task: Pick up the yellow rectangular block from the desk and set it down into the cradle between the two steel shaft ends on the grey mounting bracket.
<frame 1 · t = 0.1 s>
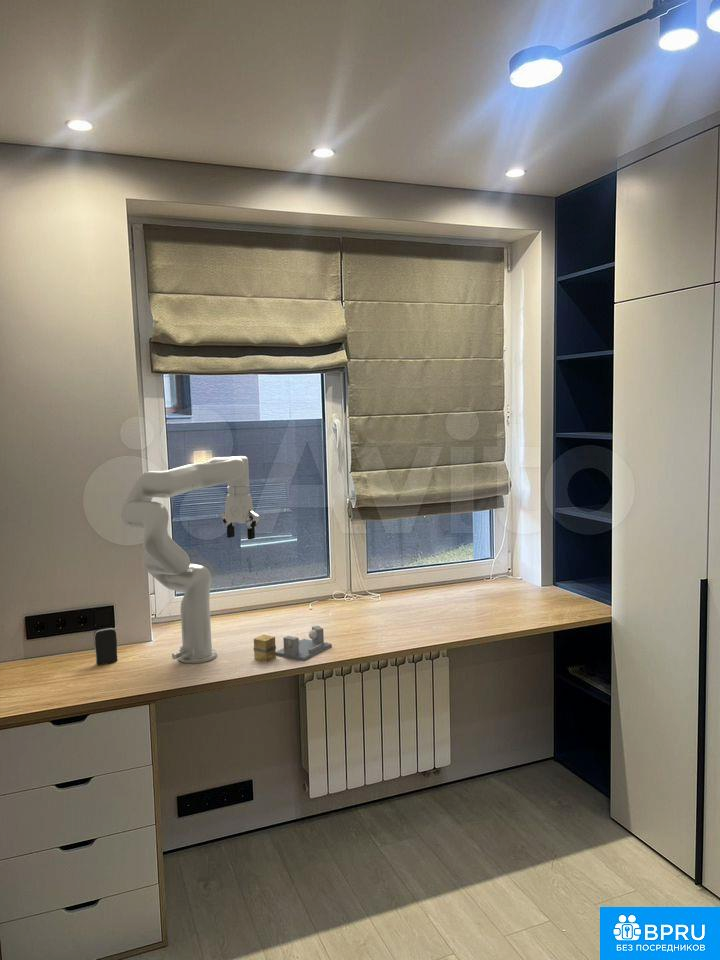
hand: (241, 538, 255), 37 cm above the table, fingers open, 9 cm apart
battery charger: (106, 662, 236), on the table
grey mounting bracket: (303, 650, 241), on the table
yellow rectangular block: (265, 658, 235), on the table
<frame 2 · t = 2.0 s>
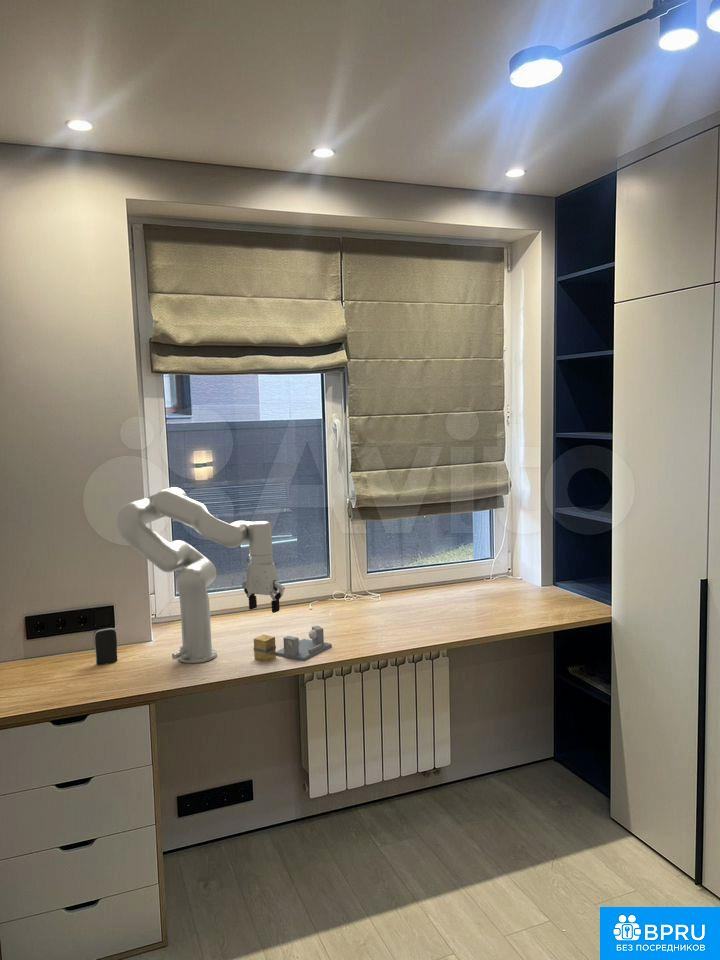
hand: (264, 610, 234), 16 cm above the table, fingers open, 9 cm apart
nothing on the table moved.
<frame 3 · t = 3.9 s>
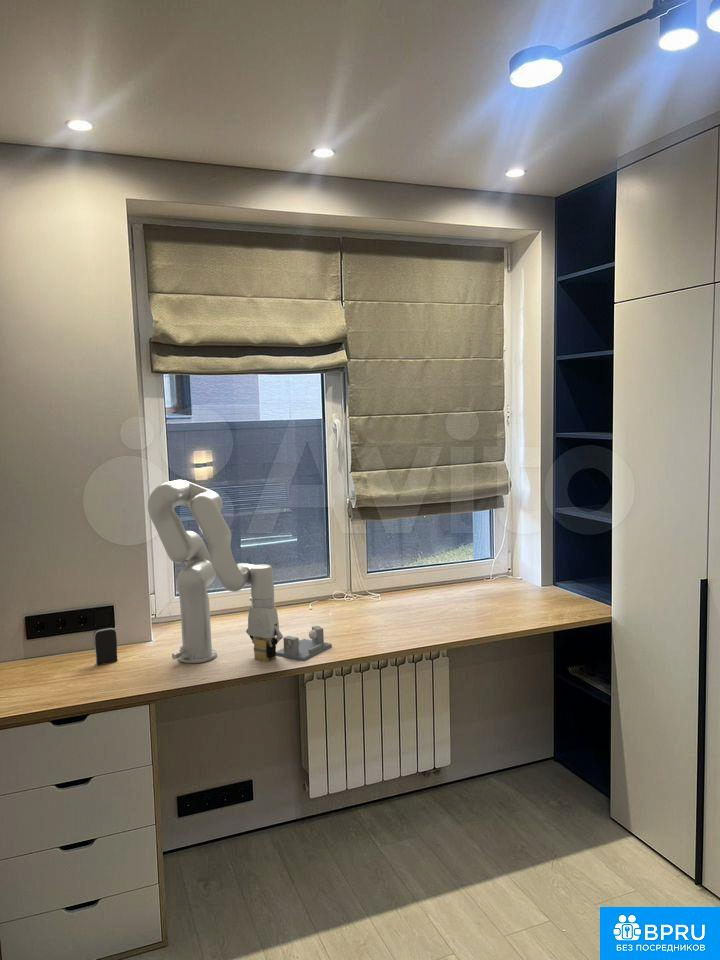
hand: (265, 655, 235), 1 cm above the table, fingers closed on yellow rectangular block, 5 cm apart
yellow rectangular block: (265, 658, 235), on the table, touching gripper
everything else where it was.
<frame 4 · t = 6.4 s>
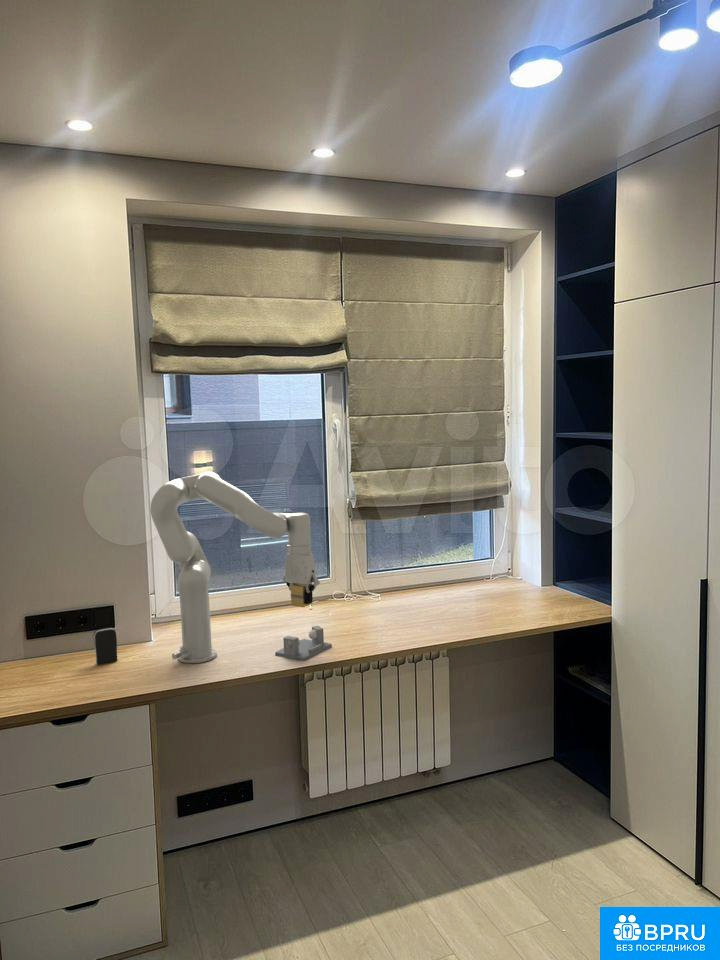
hand: (301, 601, 240), 17 cm above the table, fingers closed on yellow rectangular block, 5 cm apart
yellow rectangular block: (301, 604, 240), point 16 cm above the table, touching gripper
everything else where it was.
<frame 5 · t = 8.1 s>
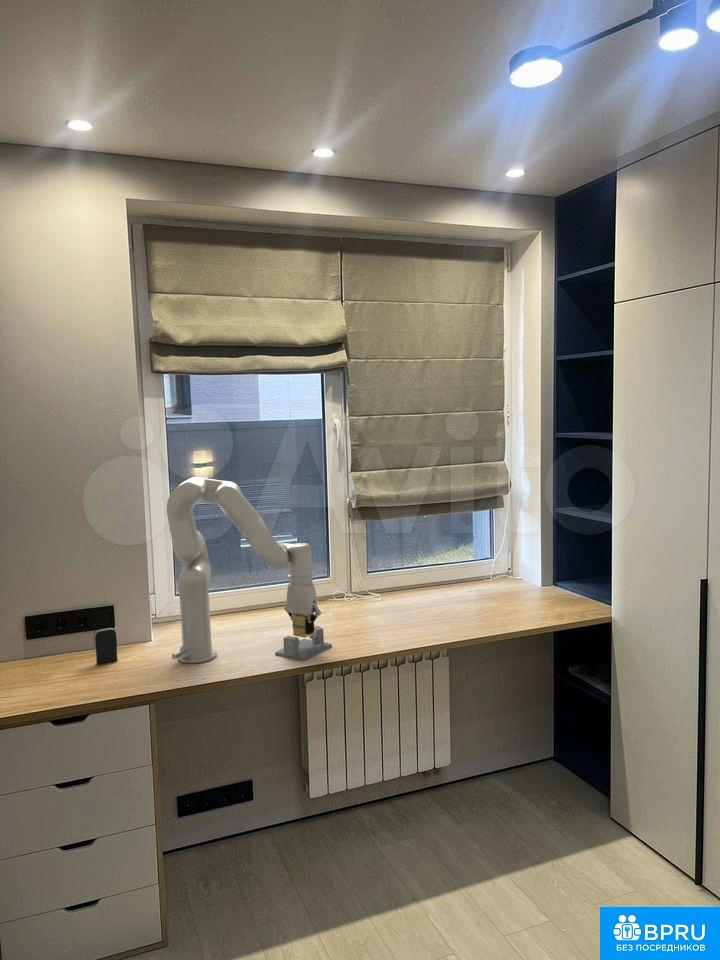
hand: (303, 631, 241), 7 cm above the table, fingers closed on yellow rectangular block, 5 cm apart
yellow rectangular block: (303, 634, 241), point 6 cm above the table, touching gripper
everything else where it was.
when the fingers open (3 cm above the table, at t = 9.2 s): yellow rectangular block drops 1 cm, resting on grey mounting bracket.
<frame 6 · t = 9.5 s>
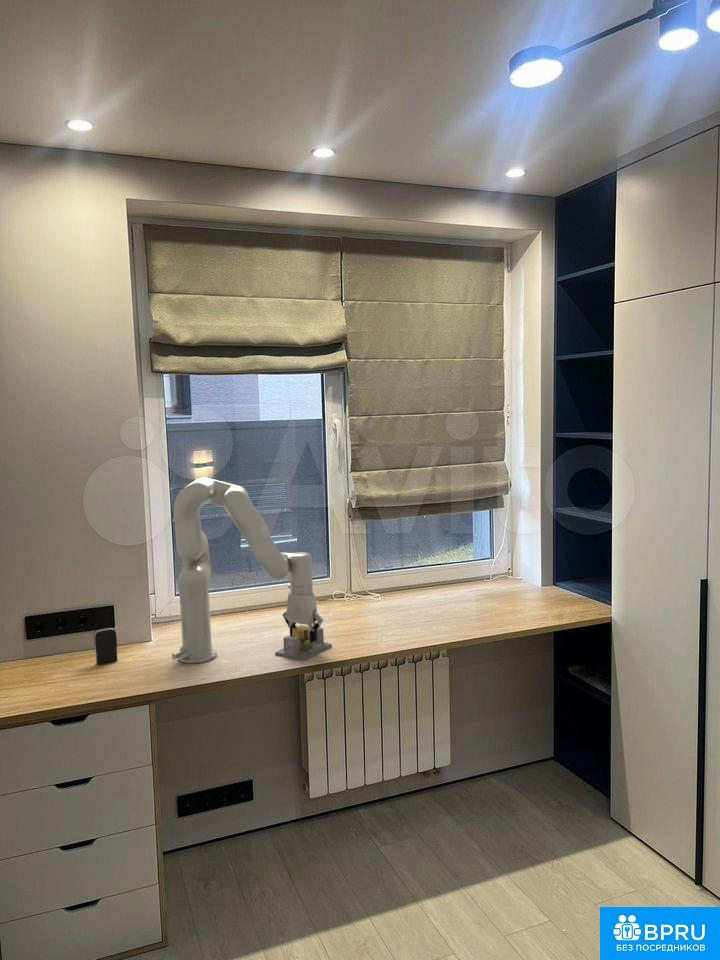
hand: (303, 639, 241), 4 cm above the table, fingers open, 7 cm apart
yellow rectangular block: (303, 647, 241), point 1 cm above the table, touching grey mounting bracket
everything else where it was.
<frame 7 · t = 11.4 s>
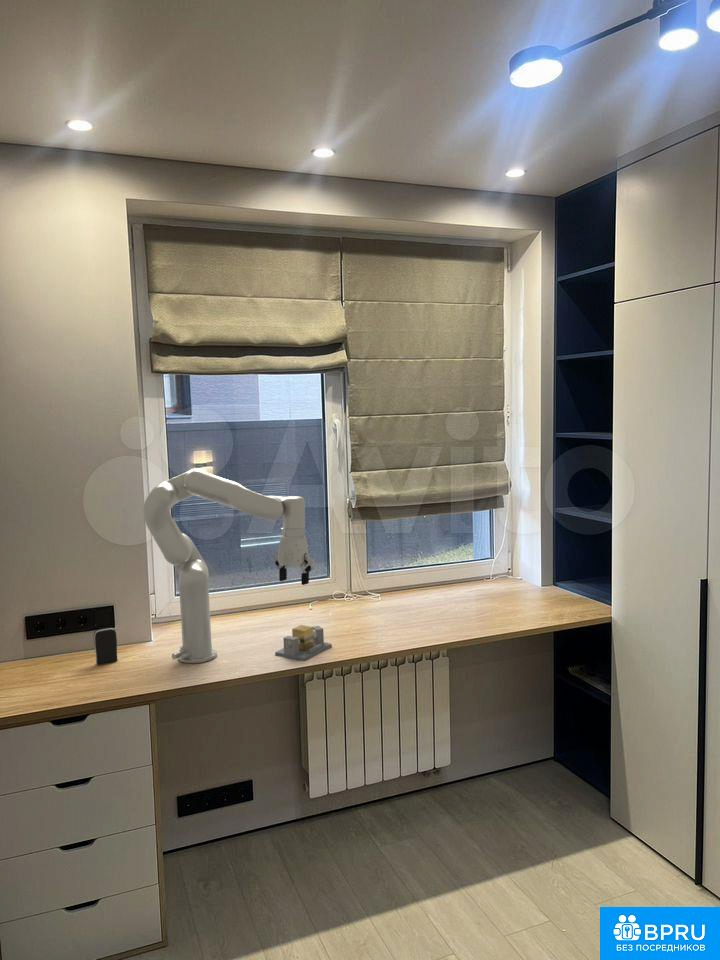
hand: (294, 582, 242), 23 cm above the table, fingers open, 9 cm apart
nothing on the table moved.
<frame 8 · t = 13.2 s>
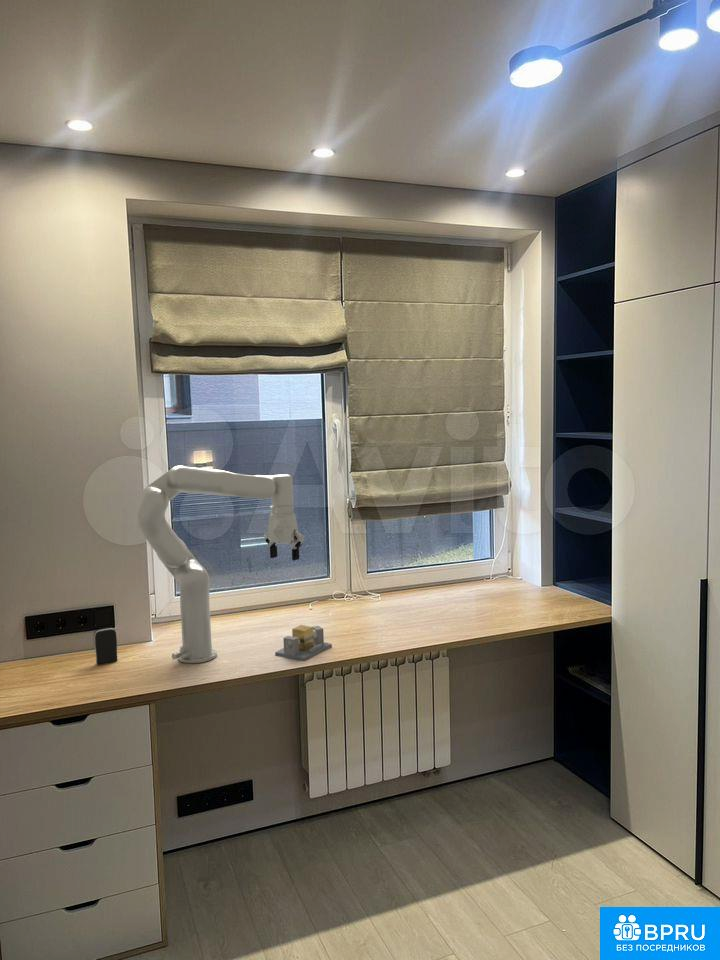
hand: (284, 558, 247), 30 cm above the table, fingers open, 9 cm apart
nothing on the table moved.
at the end: yellow rectangular block 0.1 cm off-centre on the grey mounting bracket, point 1.0 cm above the grey mounting bracket's base; yellow rectangular block tilted 0°; the gripper is holding nothing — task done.
